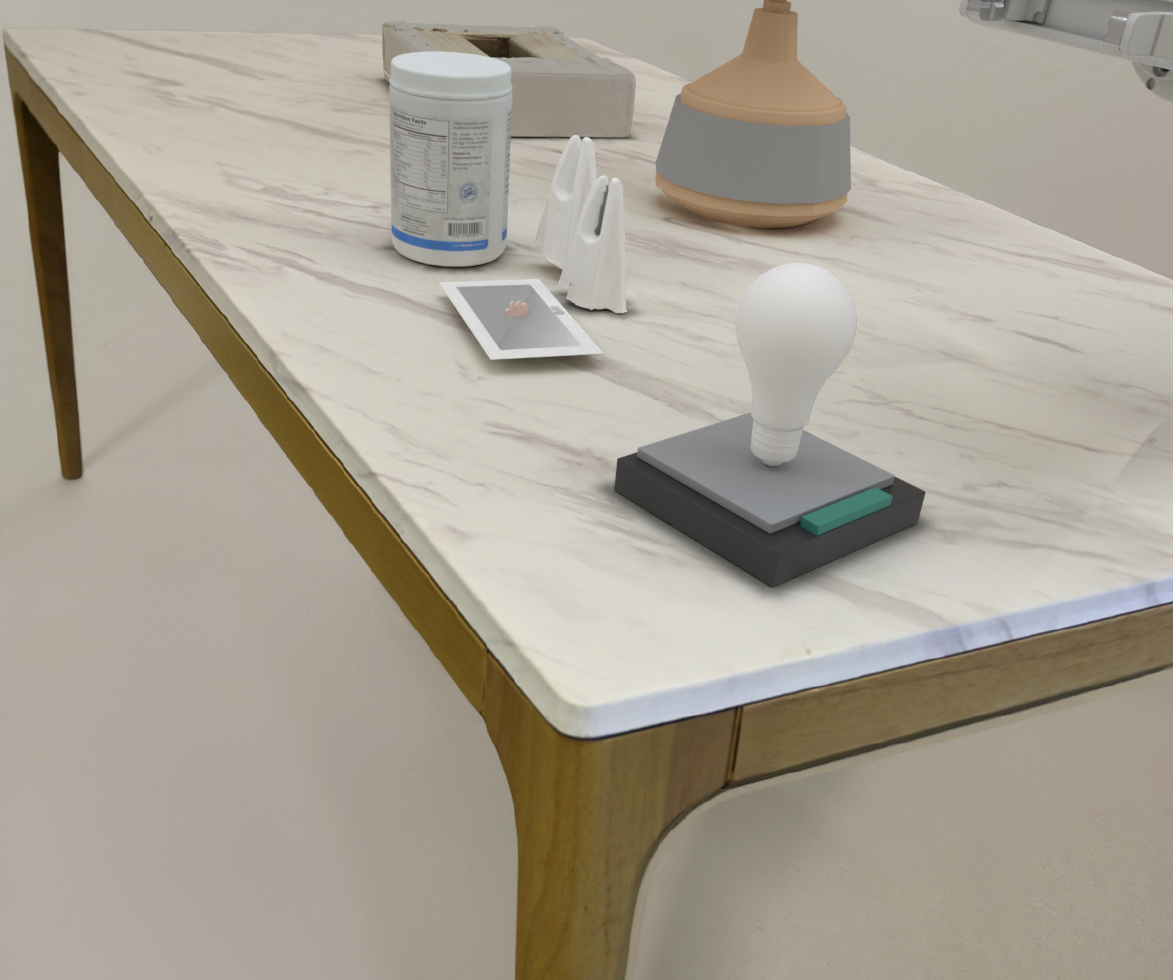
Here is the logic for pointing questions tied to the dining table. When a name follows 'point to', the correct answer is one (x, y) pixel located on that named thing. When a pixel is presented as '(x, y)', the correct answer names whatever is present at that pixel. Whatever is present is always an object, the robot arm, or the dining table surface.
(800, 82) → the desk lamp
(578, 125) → the box
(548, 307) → the touchpad
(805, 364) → the lightbulb
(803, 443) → the scale
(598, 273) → the shaker set
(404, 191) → the supplement tub
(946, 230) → the dining table surface
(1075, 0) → the robot arm
